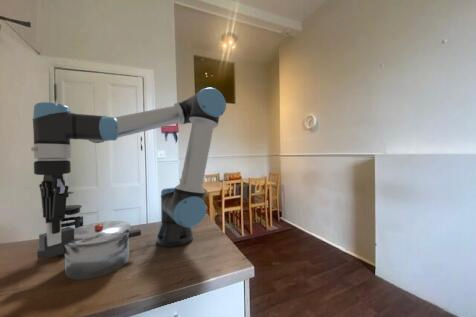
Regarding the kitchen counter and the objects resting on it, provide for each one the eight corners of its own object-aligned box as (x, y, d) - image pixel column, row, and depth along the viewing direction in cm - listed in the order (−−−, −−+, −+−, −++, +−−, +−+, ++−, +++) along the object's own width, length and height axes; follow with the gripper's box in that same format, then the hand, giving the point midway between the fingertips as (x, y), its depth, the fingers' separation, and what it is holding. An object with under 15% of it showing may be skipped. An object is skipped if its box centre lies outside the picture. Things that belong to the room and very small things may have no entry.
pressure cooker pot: (136, 244, 85) (135, 220, 84) (145, 262, 70) (145, 233, 70) (44, 266, 68) (43, 236, 68) (32, 296, 53) (31, 258, 53)
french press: (66, 257, 74) (65, 194, 73) (42, 257, 74) (41, 194, 74) (92, 243, 85) (91, 189, 85) (71, 243, 86) (70, 189, 86)
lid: (109, 221, 82) (109, 210, 82) (141, 229, 74) (141, 216, 74) (26, 246, 60) (26, 230, 60) (59, 260, 52) (59, 242, 52)
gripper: (26, 160, 56) (27, 244, 57) (43, 160, 50) (44, 255, 50) (60, 159, 63) (61, 234, 63) (79, 159, 56) (80, 244, 56)
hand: (54, 243), depth 57 cm, fingers closed
